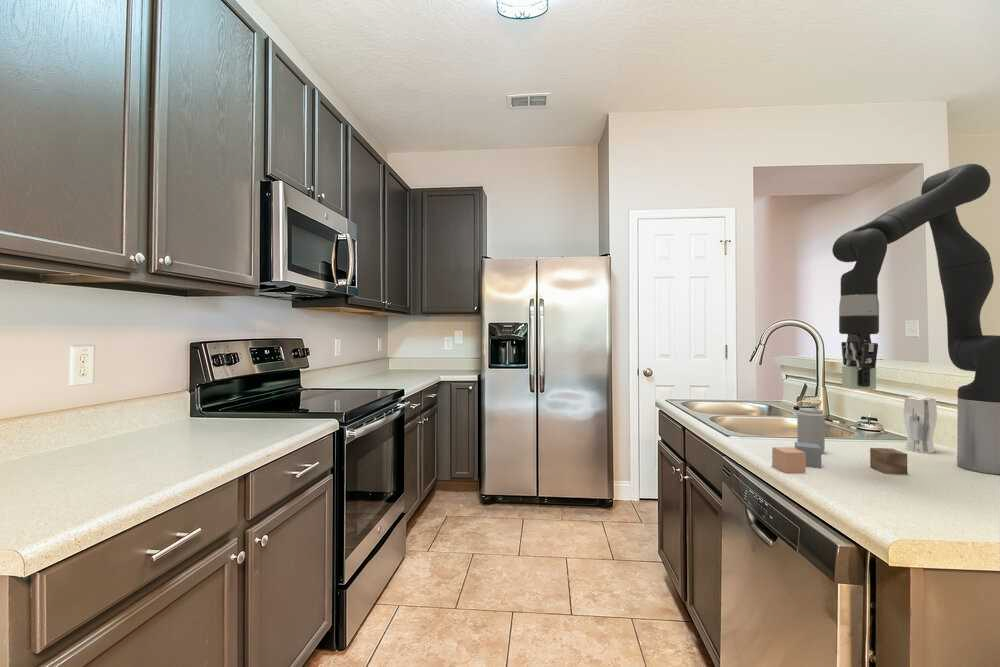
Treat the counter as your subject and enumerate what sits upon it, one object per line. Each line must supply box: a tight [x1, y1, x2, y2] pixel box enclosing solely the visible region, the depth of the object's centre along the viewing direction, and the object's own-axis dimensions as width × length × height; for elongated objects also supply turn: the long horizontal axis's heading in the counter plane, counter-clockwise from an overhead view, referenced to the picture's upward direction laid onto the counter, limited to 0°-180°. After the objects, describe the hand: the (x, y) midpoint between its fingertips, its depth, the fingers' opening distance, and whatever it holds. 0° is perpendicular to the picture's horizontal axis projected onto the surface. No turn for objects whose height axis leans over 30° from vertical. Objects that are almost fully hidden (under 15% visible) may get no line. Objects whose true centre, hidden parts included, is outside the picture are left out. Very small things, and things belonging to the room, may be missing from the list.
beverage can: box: [796, 407, 826, 454], centre depth 128 cm, size 6×6×12 cm
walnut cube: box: [869, 447, 908, 475], centre depth 110 cm, size 5×5×5 cm
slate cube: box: [794, 441, 822, 469], centre depth 116 cm, size 5×5×5 cm
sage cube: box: [841, 365, 877, 390], centre depth 108 cm, size 5×5×5 cm
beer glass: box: [903, 396, 938, 454], centre depth 129 cm, size 7×7×15 cm
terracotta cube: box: [771, 446, 807, 474], centre depth 111 cm, size 5×5×5 cm
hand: (858, 384), depth 108 cm, fingers closed on sage cube, 5 cm apart
